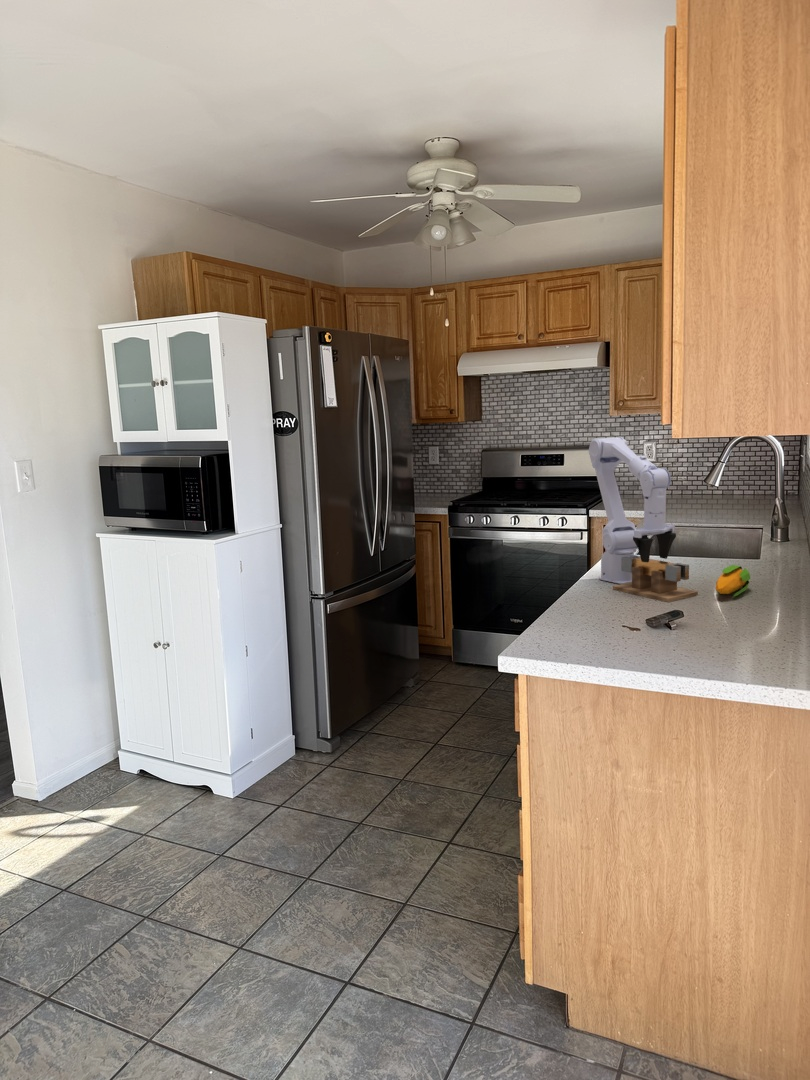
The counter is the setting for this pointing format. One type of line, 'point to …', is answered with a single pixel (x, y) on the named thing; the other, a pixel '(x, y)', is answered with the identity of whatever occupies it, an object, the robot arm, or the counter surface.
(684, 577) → the spanner
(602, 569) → the robot arm
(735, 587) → the corn
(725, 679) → the counter surface
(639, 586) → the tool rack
